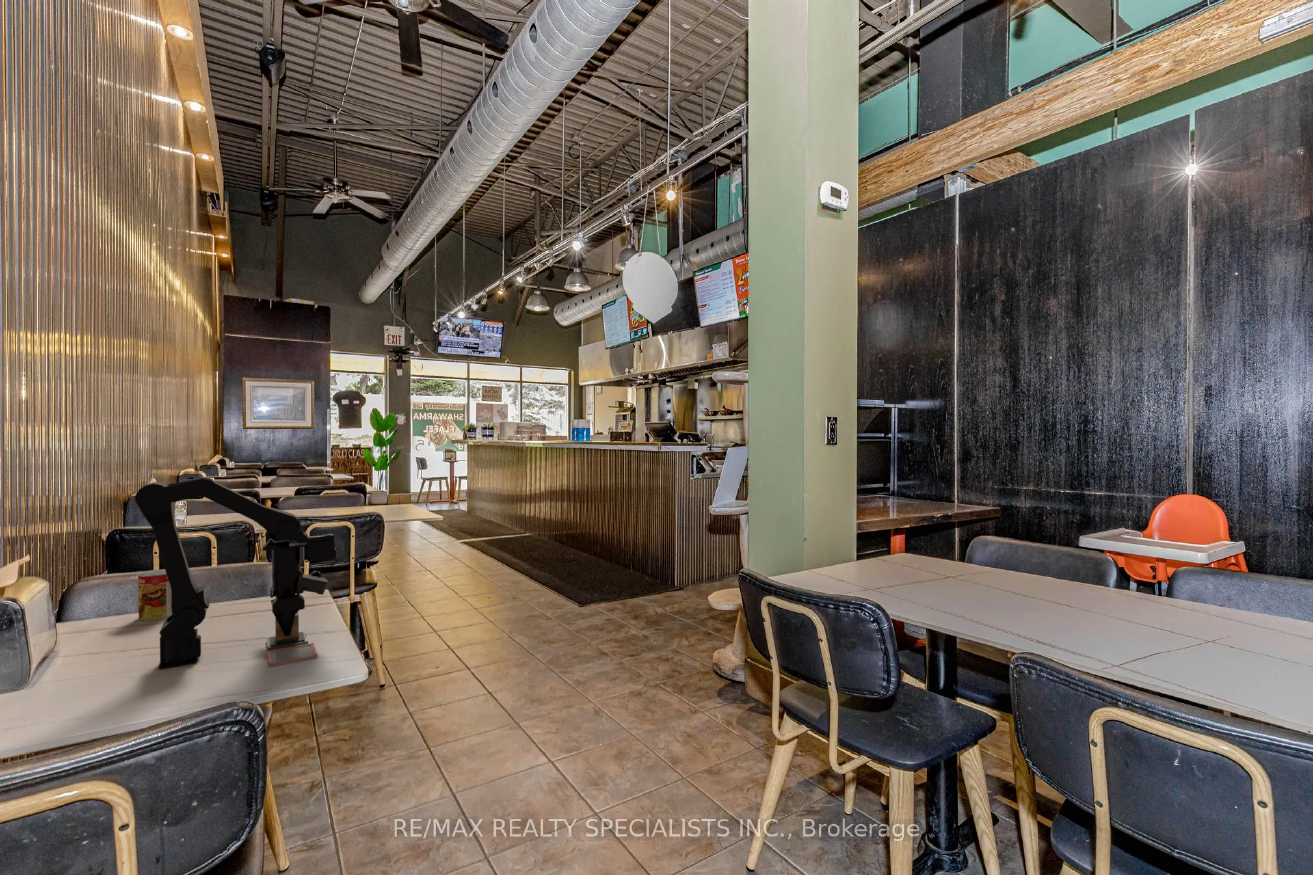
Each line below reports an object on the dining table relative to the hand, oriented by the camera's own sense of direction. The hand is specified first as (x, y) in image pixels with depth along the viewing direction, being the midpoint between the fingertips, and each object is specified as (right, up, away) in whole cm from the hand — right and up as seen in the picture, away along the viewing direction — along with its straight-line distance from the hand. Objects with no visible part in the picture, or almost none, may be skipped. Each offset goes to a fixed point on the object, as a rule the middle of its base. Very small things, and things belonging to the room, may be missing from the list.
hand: (287, 632), depth 142 cm
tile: (+6, -3, -8) cm, 10 cm away
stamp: (0, -1, 0) cm, 1 cm away
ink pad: (0, -3, 0) cm, 2 cm away
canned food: (-49, -3, +21) cm, 53 cm away
